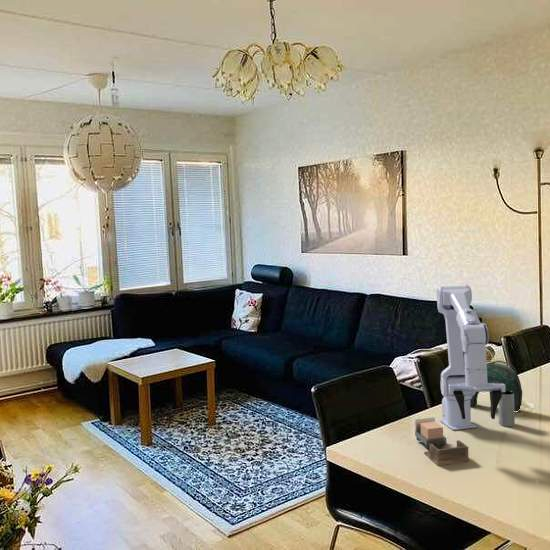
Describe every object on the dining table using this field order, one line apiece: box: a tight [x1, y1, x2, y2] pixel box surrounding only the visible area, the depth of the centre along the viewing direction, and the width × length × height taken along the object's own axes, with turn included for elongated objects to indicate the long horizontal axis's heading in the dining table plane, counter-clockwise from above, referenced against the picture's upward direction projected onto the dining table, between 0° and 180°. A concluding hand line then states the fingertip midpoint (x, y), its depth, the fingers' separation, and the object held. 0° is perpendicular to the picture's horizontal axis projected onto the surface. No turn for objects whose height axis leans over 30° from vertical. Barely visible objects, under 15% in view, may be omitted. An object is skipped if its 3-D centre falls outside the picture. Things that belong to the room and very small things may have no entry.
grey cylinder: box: [498, 390, 516, 428], centre depth 182 cm, size 4×4×10 cm
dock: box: [423, 439, 470, 467], centre depth 160 cm, size 8×9×4 cm
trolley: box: [414, 417, 447, 449], centre depth 170 cm, size 8×6×6 cm
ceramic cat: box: [463, 350, 523, 411], centre depth 198 cm, size 20×6×20 cm, turn 56°
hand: (478, 418), depth 160 cm, fingers open, 7 cm apart
